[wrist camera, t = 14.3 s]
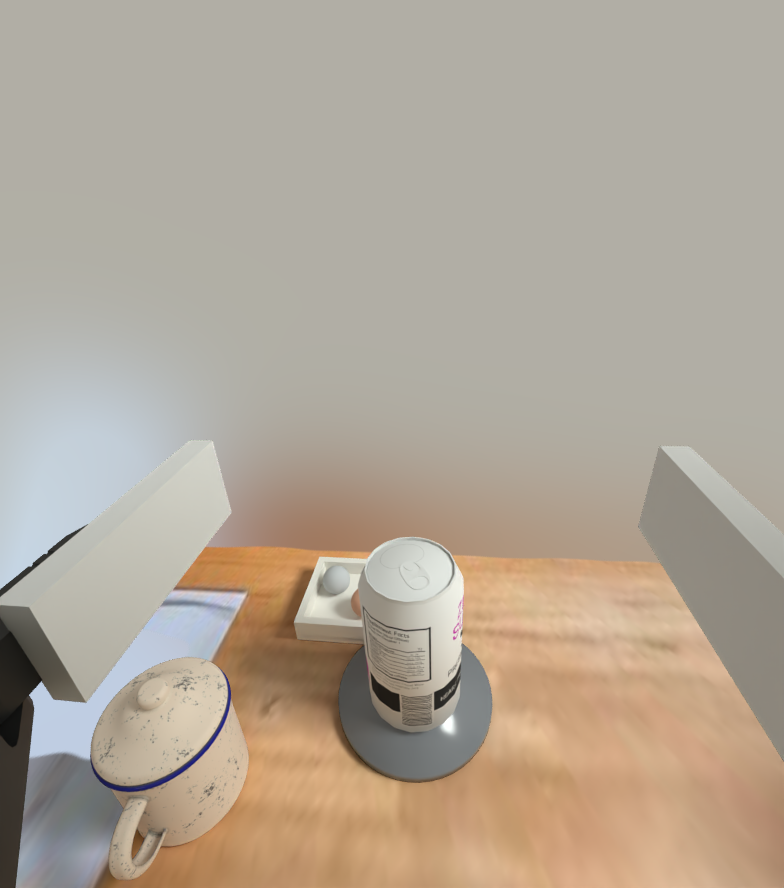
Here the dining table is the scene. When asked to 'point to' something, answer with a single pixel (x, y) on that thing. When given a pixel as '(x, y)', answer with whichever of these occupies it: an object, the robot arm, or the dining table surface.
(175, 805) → the teacup with lid
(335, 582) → the ball grey
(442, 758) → the slate coaster
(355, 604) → the ball terracotta
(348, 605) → the ball dish
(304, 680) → the dining table surface
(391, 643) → the supplement can
